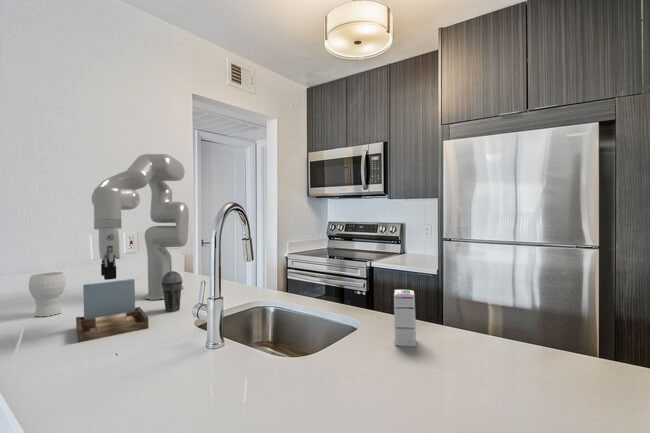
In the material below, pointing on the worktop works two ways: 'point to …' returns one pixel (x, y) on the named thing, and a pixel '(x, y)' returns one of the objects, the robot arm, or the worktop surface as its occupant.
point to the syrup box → (404, 318)
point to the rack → (86, 335)
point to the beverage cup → (172, 290)
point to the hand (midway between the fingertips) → (108, 277)
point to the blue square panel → (108, 298)
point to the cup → (47, 292)
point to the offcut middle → (116, 324)
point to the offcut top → (111, 319)
